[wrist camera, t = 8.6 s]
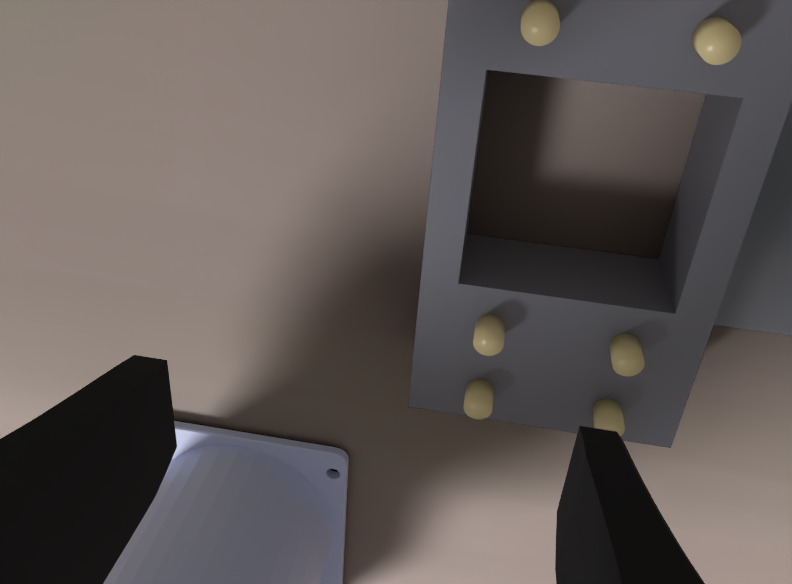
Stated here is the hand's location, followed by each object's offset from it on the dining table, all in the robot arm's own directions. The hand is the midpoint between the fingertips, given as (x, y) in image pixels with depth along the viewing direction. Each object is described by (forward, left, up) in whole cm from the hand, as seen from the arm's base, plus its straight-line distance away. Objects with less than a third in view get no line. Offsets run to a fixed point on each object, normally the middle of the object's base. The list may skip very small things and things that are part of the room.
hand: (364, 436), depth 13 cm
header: (+2, -4, -10) cm, 11 cm away
